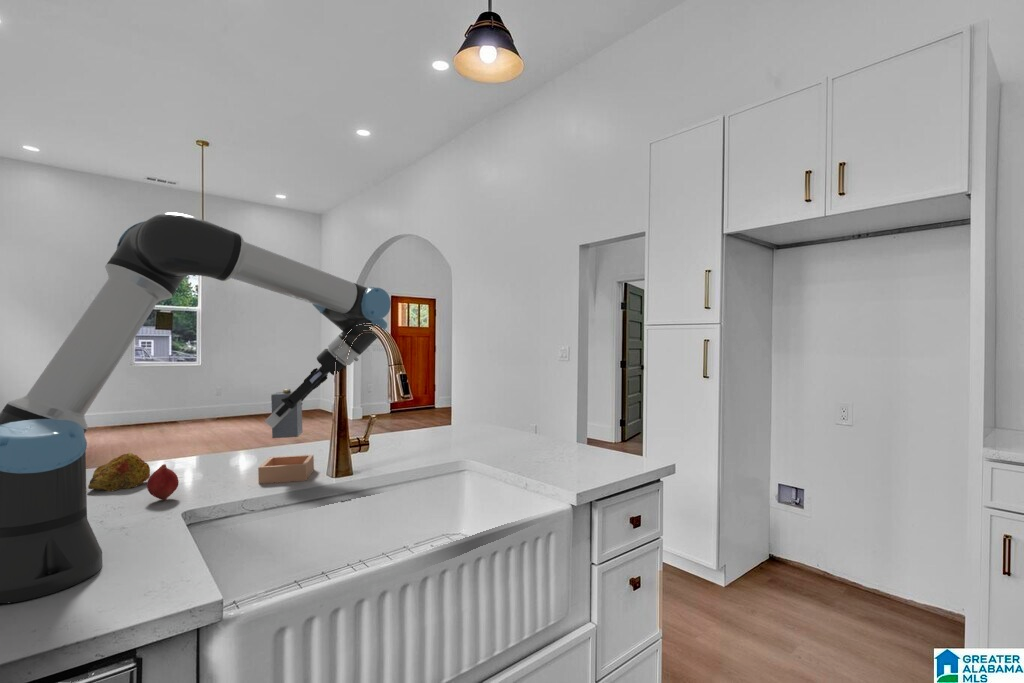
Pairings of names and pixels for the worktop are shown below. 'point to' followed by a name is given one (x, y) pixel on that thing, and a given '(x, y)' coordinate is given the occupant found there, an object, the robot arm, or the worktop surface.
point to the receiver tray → (286, 469)
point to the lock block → (287, 417)
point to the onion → (162, 483)
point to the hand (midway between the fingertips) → (272, 422)
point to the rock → (120, 473)
